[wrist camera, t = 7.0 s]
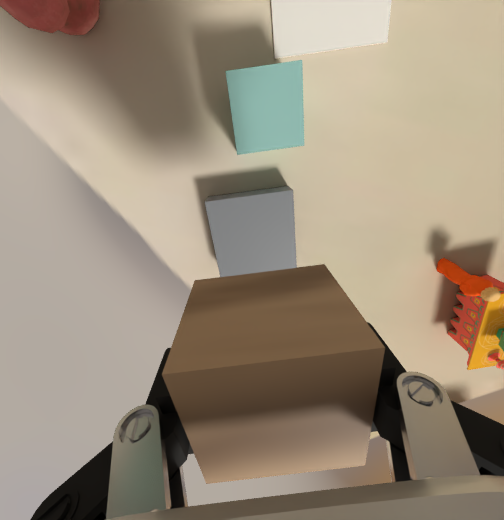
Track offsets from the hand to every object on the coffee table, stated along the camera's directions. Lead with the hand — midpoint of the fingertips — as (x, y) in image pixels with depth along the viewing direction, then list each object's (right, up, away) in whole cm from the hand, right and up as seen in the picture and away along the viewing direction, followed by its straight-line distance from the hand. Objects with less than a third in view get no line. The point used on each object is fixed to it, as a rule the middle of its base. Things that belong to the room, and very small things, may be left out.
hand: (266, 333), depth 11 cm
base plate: (-1, +7, +14) cm, 15 cm away
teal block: (0, +16, +10) cm, 19 cm away
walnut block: (0, 0, +1) cm, 1 cm away
